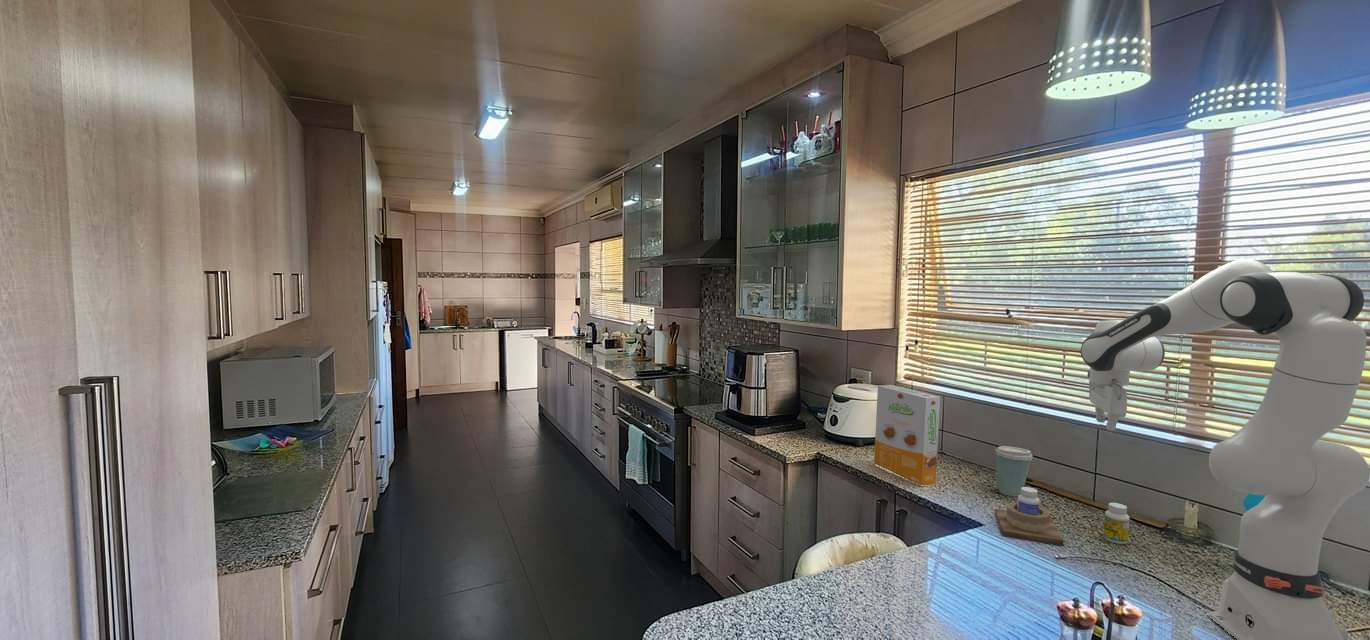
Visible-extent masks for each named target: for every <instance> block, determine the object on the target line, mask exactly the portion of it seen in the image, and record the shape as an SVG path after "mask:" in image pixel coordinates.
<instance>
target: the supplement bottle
mask: <svg viewBox="0 0 1370 640" xmlns="http://www.w3.org/2000/svg"><path fill="white" fill-rule="evenodd" d="M1107 505H1108V506H1107V508H1108V510H1105V512H1104V517H1103V518H1104V521H1103V522H1104V523H1103V535H1102V536H1103V538H1104V539H1105V540H1106V541H1107V542H1110V543H1112V544H1113V543H1114V544H1118V545H1127V544H1128V543H1129V534H1130V533H1129V532H1130V519H1131V518H1130V516H1129V515H1128V507H1127V505H1124V504H1122V503H1118V502H1109V503H1108V504H1107Z"/></svg>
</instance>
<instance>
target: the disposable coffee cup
mask: <svg viewBox="0 0 1370 640" xmlns="http://www.w3.org/2000/svg"><path fill="white" fill-rule="evenodd" d="M994 451H995V452H994V453H995V460H996V461H995V463H996V464H995V465H996V473H997V474H996V477H997V488H998V491H999V493H1001V494H1002V495H1006V496H1009V497H1015V498H1016V497H1017V498H1018V496H1019V495H1021V488H1022V487H1025V484H1026V480H1027V477H1028V472H1029V470H1030V466H1031V462H1032V460H1033V459H1034V458H1033V457H1034V456H1033V454H1032V451H1030V449H1025V448H1021V447H1016V446H1007V445H1003V446H1002V445H1001V446H1000V445H999V446H998V447H996V448H995V450H994Z"/></svg>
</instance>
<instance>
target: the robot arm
mask: <svg viewBox="0 0 1370 640" xmlns="http://www.w3.org/2000/svg"><path fill="white" fill-rule="evenodd" d="M1364 303H1365V297H1364V292H1363V291H1362V289H1361V288H1360V287H1359V285H1358V284H1356V283H1355V282H1354V281H1352V280H1350V279H1348V278H1345V277H1342V276H1339V275H1333V274H1327V273H1318V274H1315V273H1305V272H1298V271H1275V272H1274V271H1273V270H1272V269H1271V267H1269V266H1268V265H1266V264H1265V263H1262V262H1260V261H1258V260H1255V259H1250V258H1240V259H1235V260H1233V261H1231V262H1228V263H1226V264H1223V265H1221V266H1219V267H1217V268H1215V269H1214V270H1212V271H1209V272H1208V273H1206V274H1204V275H1202V277H1199V279H1197V280H1196V281H1194V282H1192V283H1191V284H1190V285H1188V286H1186V287H1184V288H1183V289H1182V290H1179V291H1178V292H1176V293H1174V294H1173V295H1170V296H1169V297H1167V298H1165V299H1163V300H1161V301H1157V302H1156V303H1154V304H1152V305H1150V306H1148V307H1147V306H1146V307H1145V308H1143V309H1141V310H1139V311H1137V312H1136V313H1133V314H1132V315H1130V316H1129V317H1127V318H1125V319H1124V318H1111V319H1109V318H1108V319H1102V320H1100V321H1098V322H1097V323H1096V325H1095V328H1094V332H1092V333H1091V334H1089V335H1088V336H1087V337H1086V338H1085V339H1084V340H1083V342H1082V343H1081V347H1080V356H1081V358H1082V360H1083V362H1084V363H1085V364H1086V365H1087V366H1088V367H1089V368H1090V369H1089V370H1087V375H1086V376H1087V378H1088V379H1089V382H1088V394H1089V395H1088V396H1089V401H1090V403H1091V404H1093V405H1094V407H1095V408H1094V410H1095V415H1096V417H1095V420H1096V422H1097V423H1103V424H1104V423H1105V422H1106V416H1105V415H1106V414H1107V422H1106V425H1105V427H1106V430H1108V431H1113V432H1114V431H1116V428H1117V423H1118V421H1119V418H1125V417H1126V416H1127V413H1128V392H1127V389H1126V388H1124V387H1126V386H1127V387H1128V386H1129V385H1130V375H1131V371H1134V372H1135V371H1136V372H1138V371H1139V372H1140V371H1141V372H1142V371H1143V372H1145V371H1147V372H1148V371H1154V370H1156V369H1157V368H1159V367H1160V366H1161V364H1162V363H1163V362H1164V359H1165V356H1166V353H1165V352H1166V351H1165V346H1164V344H1163V342H1162V340H1160V339H1159V338H1158V337H1159V336H1164V335H1176V334H1177V335H1178V334H1179V335H1180V334H1197V333H1199V334H1200V333H1207V332H1211V331H1215V330H1218V329H1221V328H1224V327H1227V326H1228V325H1230V324H1233V323H1234V322H1235V323H1236V324H1240V325H1242V326H1243V327H1244V326H1245V327H1247V328H1249V329H1250V330H1252V331H1254V332H1255V333H1256V334H1259V335H1261V336H1267V335H1270V334H1274V335H1275V336H1276V337H1277V339H1278V340H1279V350H1278V354H1277V357H1276V360H1275V363H1274V366H1273V369H1272V371H1271V372H1272V373H1271V375H1270V379H1269V382H1268V385H1267V388H1266V392H1265V393H1264V396H1263V399H1262V402H1261V403H1260V405H1259V407H1258V409H1257V410H1256V411H1255V412H1254V414H1252V417H1250V418H1249V420H1248V421H1247V422H1246V423H1245V424H1244V425H1243V426H1242V427H1240V428H1239V430H1238V431H1237V432H1235V433H1233V435H1231V436H1229V437H1228V438H1226V439H1224V440H1222V441H1220V442H1218V443H1217V444H1215V445H1214V446H1213V447H1212V448H1211V451H1210V452H1209V456H1208V466H1209V469H1210V471H1211V473H1212V475H1213V477H1214V478H1215V479H1216V481H1217V482H1218V483H1219V484H1220V485H1221V486H1223V487H1225V488H1227V489H1229V490H1233V491H1237V492H1241V493H1246V494H1251V495H1255V496H1264V498H1262V500H1261V501H1260V502H1258V504H1257V505H1255V506H1254V507H1251V508H1250V509H1247V510H1246V512H1244V513H1243V515H1242V517H1241V520H1240V528H1239V537H1238V538H1239V539H1238V548H1237V550H1235V551H1234V556H1233V559H1232V562H1233V567H1232V568H1233V570H1234V571H1233V573H1232V574H1231V575H1230V576H1229V577H1228V578H1226V579H1225V580H1224V581H1223V584H1222V588H1221V593H1220V598H1219V602H1218V607H1217V610H1214V611H1210V612H1209V616H1210V617H1211V618H1212V619H1214V620H1215V621H1216V622H1217V623H1219V624H1220V625H1221V626H1222V627H1223V628H1224V629H1226V630H1227V631H1228V632H1229V633H1230V634H1231V635H1233V636H1234V637H1235V638H1236V639H1237V640H1349V632H1348V630H1347V629H1346V628H1345V627H1342V626H1339V625H1337V623H1336V622H1335V620H1334V613H1333V611H1331V610H1329V609H1328V607H1327V605H1326V604H1325V601H1324V600H1323V599H1324V598H1323V595H1324V592H1323V590H1324V589H1325V588H1324V587H1323V581H1322V579H1321V573H1320V572H1319V569H1318V568H1319V561H1320V554H1321V548H1322V541H1323V538H1324V534H1325V531H1326V530H1327V527H1328V525H1329V523H1330V522H1331V520H1332V518H1333V517H1334V515H1335V514H1336V513H1337V511H1338V510H1339V509H1340V508H1341V506H1342V505H1343V504H1344V503H1345V502H1346V501H1347V500H1348V499H1349V498H1351V497H1352V496H1354V495H1355V494H1357V493H1359V492H1362V490H1364V489H1366V487H1367V486H1368V484H1369V481H1370V468H1369V463H1368V462H1367V461H1366V458H1364V457H1363V455H1362V454H1360V453H1359V451H1357V450H1355V449H1354V448H1353V447H1349V446H1348V445H1344V444H1340V443H1336V442H1331V441H1326V440H1321V438H1322V437H1324V436H1325V435H1326V434H1328V433H1329V432H1332V431H1334V430H1335V429H1338V428H1340V427H1341V426H1342V425H1343V424H1344V423H1345V422H1346V421H1347V420H1348V418H1349V416H1350V415H1349V414H1350V411H1351V409H1352V407H1353V403H1354V399H1355V396H1356V394H1357V391H1358V388H1359V386H1360V382H1361V378H1362V375H1363V372H1364V367H1365V361H1366V355H1367V352H1366V351H1367V334H1366V331H1365V330H1364V329H1363V328H1362V326H1360V325H1359V324H1357V323H1356V322H1354V321H1353V320H1355V319H1356V318H1357V317H1358V316H1359V315H1360V314H1361V312H1362V310H1363V307H1364V305H1365V304H1364ZM1105 413H1106V414H1105ZM1209 616H1208V617H1209ZM1230 634H1229V635H1230ZM1231 635H1230V636H1231ZM1236 639H1235V640H1236Z"/></svg>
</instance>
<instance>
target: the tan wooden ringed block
mask: <svg viewBox="0 0 1370 640" xmlns="http://www.w3.org/2000/svg"><path fill="white" fill-rule="evenodd" d="M994 510H995V511H994V512H995V513H994V514H995V518H996V520H997V523H998V524H997V525H999V529H1000V532H1001V535H1002V536H1003V537H1006V538H1014V539H1020V540H1025V541H1032V542H1037V543H1043V544H1049V545H1056V546H1062V547H1063V546H1064V542H1065V541H1064V539H1063V537H1062V535H1061V534H1060V532H1059V530H1058V528H1057V526H1056V524H1055V522H1054V521H1053V519H1052V517H1051V513H1050V512H1049V510H1048V509H1046V508H1044V507H1042V506H1040V512H1039V515H1031V514H1026V513H1022V512H1019V511H1018V510H1017V502H1010V503H1008V504H1007V505H1006V509H1001V508H995V509H994Z"/></svg>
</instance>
